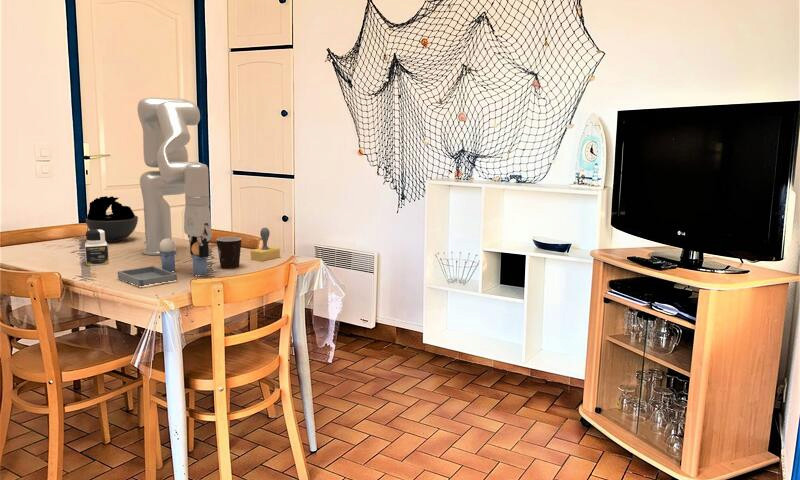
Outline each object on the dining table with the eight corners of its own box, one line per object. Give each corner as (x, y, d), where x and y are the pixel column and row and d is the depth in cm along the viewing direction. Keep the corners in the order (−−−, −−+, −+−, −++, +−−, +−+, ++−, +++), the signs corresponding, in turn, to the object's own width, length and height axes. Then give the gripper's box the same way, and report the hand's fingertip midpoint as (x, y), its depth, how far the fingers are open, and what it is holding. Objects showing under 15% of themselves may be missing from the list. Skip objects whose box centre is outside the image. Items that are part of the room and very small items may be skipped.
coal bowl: (102, 236, 282) (99, 193, 278) (147, 237, 281) (144, 194, 278) (77, 245, 262) (74, 199, 259) (126, 246, 261) (123, 200, 258)
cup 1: (159, 271, 220) (158, 251, 219) (171, 269, 224) (170, 249, 222) (165, 273, 217) (164, 253, 216) (177, 271, 221) (176, 251, 219)
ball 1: (157, 252, 219) (156, 238, 218) (171, 250, 223) (170, 236, 222) (164, 255, 216) (163, 240, 215) (178, 253, 219) (177, 238, 219)
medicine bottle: (86, 265, 226) (84, 232, 224) (86, 261, 233) (83, 229, 230) (108, 264, 230) (106, 231, 227) (107, 260, 236) (105, 227, 234)
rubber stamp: (260, 262, 238) (260, 230, 236) (250, 259, 241) (249, 228, 239) (280, 257, 246) (280, 226, 244) (269, 255, 249) (269, 225, 247)
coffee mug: (219, 264, 233) (218, 236, 231) (244, 264, 234) (243, 236, 232) (213, 271, 221) (212, 242, 220) (238, 271, 222) (238, 243, 220)
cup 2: (190, 274, 216) (190, 254, 215) (202, 272, 219) (202, 252, 218) (197, 277, 213) (197, 256, 212) (209, 275, 216) (208, 254, 215)
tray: (118, 279, 209) (117, 271, 208) (153, 273, 218) (152, 265, 217) (140, 288, 198) (140, 280, 198) (177, 281, 207) (176, 274, 206)
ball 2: (188, 256, 215) (188, 241, 214) (202, 254, 218) (201, 239, 217) (196, 258, 211) (196, 243, 211) (210, 256, 215) (209, 241, 214)
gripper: (173, 199, 214) (176, 253, 218) (200, 205, 203) (202, 261, 206) (194, 198, 220) (196, 250, 223) (221, 203, 209) (223, 258, 212)
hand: (199, 255), depth 215 cm, fingers closed on ball 2, 4 cm apart
